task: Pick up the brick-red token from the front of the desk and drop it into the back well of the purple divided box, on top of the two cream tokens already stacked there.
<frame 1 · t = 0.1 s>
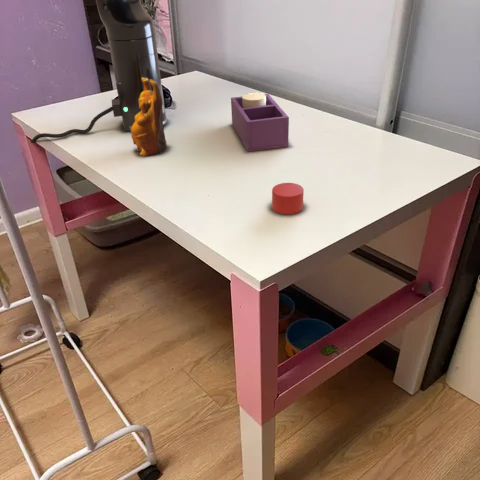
figurine: (151, 151, 100), on the table
cream token high: (254, 111, 104), point 4 cm above the table, touching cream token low
slate token: (263, 138, 100), point 1 cm above the table, touching purple divided box
red token: (287, 207, 80), on the table
purple divided box: (258, 135, 104), on the table
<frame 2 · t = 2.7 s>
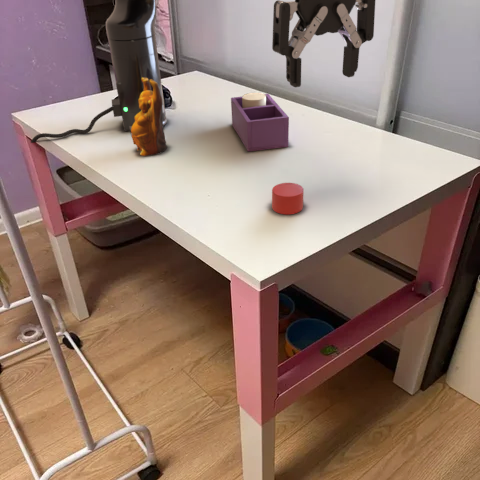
hand: (321, 80, 73), 17 cm above the table, tool pointing down, fingers open, 8 cm apart
nothing on the table moved.
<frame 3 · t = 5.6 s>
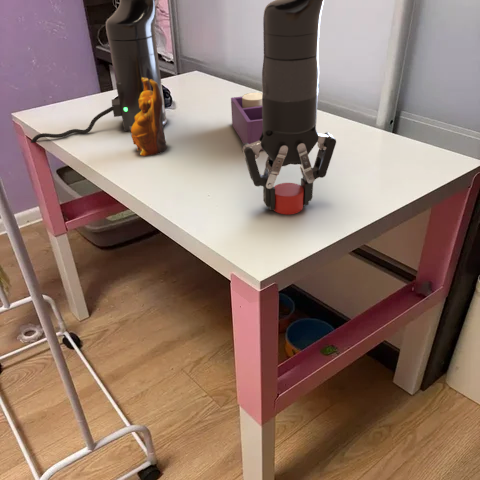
hand: (287, 204, 80), 0 cm above the table, tool pointing down, fingers closed on red token, 4 cm apart
red token: (287, 207, 80), on the table, touching gripper
everything else where it was.
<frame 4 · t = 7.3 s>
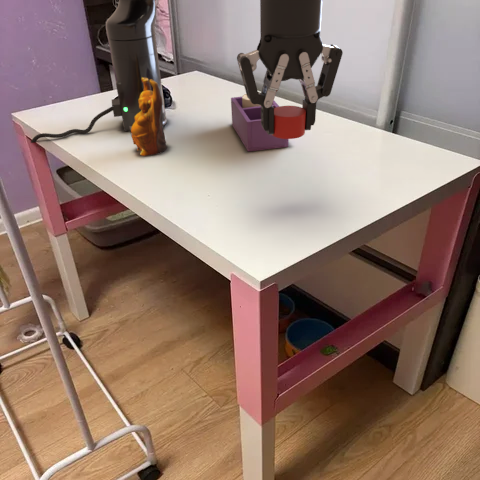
hand: (287, 129, 72), 12 cm above the table, tool pointing down, fingers closed on red token, 4 cm apart
red token: (287, 132, 72), point 12 cm above the table, touching gripper
everything else where it was.
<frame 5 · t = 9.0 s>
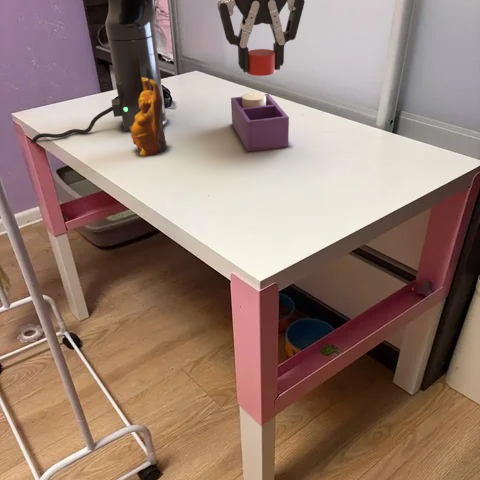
hand: (260, 69, 86), 15 cm above the table, tool pointing down, fingers closed on red token, 4 cm apart
red token: (261, 71, 86), point 15 cm above the table, touching gripper
everything else where it was.
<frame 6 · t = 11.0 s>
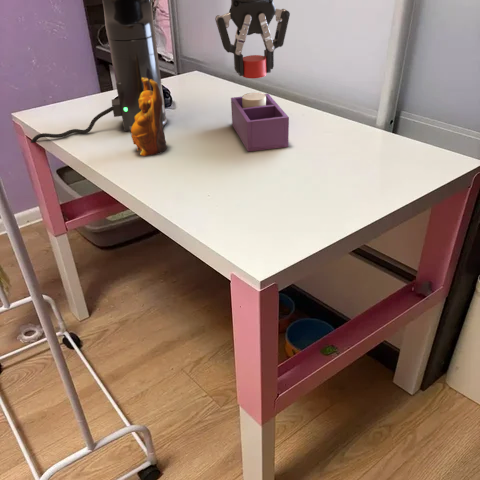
hand: (254, 73, 99), 11 cm above the table, tool pointing down, fingers closed on red token, 4 cm apart
red token: (254, 75, 100), point 11 cm above the table, touching gripper
everything else where it was.
when the fingers open (7 cm above the table, at t = 12.5 s): red token stays where it is, resting on cream token high.
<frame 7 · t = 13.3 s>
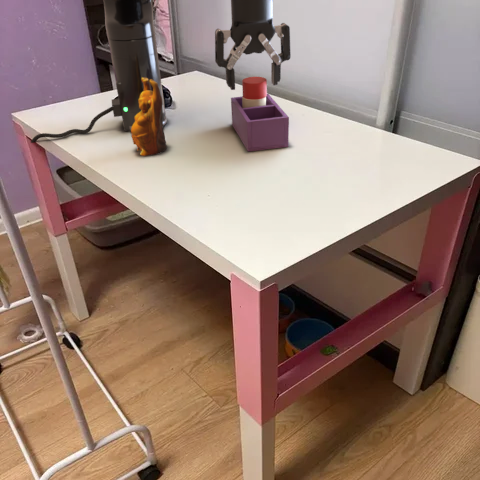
hand: (253, 86, 101), 8 cm above the table, tool pointing down, fingers open, 8 cm apart
cream token high: (254, 111, 104), point 4 cm above the table, touching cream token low, red token
red token: (254, 95, 102), point 7 cm above the table, touching cream token high
everything else where it was.
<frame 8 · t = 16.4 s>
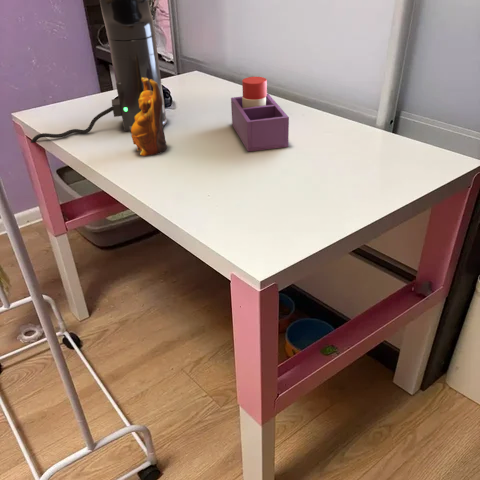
nothing on the table moved.
at the end: red token 0.2 cm from the target spot on the purple divided box, point 6.6 cm above the purple divided box's base; red token tilted 0°; the gripper is holding nothing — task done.
